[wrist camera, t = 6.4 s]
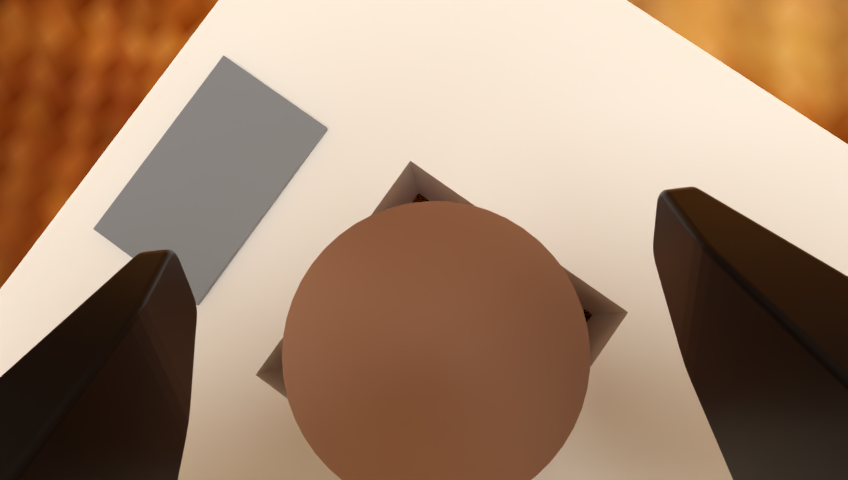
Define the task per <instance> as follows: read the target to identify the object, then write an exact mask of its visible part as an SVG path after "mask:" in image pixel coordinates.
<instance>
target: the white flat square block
mask: <svg viewBox="0 0 848 480" xmlns="http://www.w3.org/2000/svg"><path fill="white" fill-rule="evenodd" d="M682 187H696V188H698V189H700V190H702V191H704V192H705V193H707V194H709V195H710V196H712V197H714V198H715V199H717V200H719V201H721V202H722V203H724V204H726V205H727V206H729V207H731V208H732V209H734V210H736V211H738V212H739V213H741V214H743V215H744V216H746V217H748V218H750V219H751V220H753V221H755V222H756V223H758V224H760V225H761V226H763V227H765V228H767V229H768V230H770V231H772V232H773V233H775V234H777V235H778V236H780V237H782V238H784V239H785V240H787V241H789V242H790V243H792V244H794V245H795V246H797V247H799V248H801V249H802V250H804V251H806V252H807V253H809V254H811V255H812V256H814V257H816V258H818V259H819V260H821V261H823V262H824V263H826V264H828V265H829V266H831V267H833V268H835V269H836V270H838V271H840V272H841V273H843V274H845V275H846V276H848V144H846V143H845V142H843V141H842V140H840V139H839V138H837V137H836V136H834V135H832V134H831V133H829V132H828V131H826V130H825V129H823V128H822V127H820V126H819V125H817V124H816V123H814V122H812V121H811V120H809V119H808V118H806V117H805V116H803V115H802V114H800V113H799V112H797V111H796V110H794V109H793V108H791V107H789V106H788V105H786V104H785V103H783V102H782V101H780V100H779V99H777V98H776V97H774V96H773V95H771V94H769V93H768V92H766V91H765V90H763V89H762V88H760V87H759V86H757V85H756V84H754V83H753V82H751V81H750V80H748V79H746V78H745V77H743V76H742V75H740V74H739V73H737V72H736V71H734V70H733V69H731V68H730V67H728V66H727V65H725V64H723V63H722V62H720V61H719V60H717V59H716V58H714V57H713V56H711V55H710V54H708V53H707V52H705V51H703V50H702V49H700V48H699V47H697V46H696V45H694V44H693V43H691V42H690V41H688V40H687V39H685V38H684V37H682V36H680V35H679V34H677V33H676V32H674V31H673V30H671V29H670V28H668V27H667V26H665V25H664V24H662V23H660V22H659V21H657V20H656V19H654V18H653V17H651V16H650V15H648V14H647V13H645V12H644V11H642V10H641V9H639V8H637V7H636V6H634V5H633V4H631V3H630V2H628V1H627V0H219V1H218V2H217V3H216V5H215V6H214V7H213V9H212V10H211V11H210V13H209V14H208V15H207V17H206V18H205V19H204V21H203V22H202V23H201V24H200V26H199V27H198V28H197V30H196V31H195V32H194V34H193V35H192V36H191V38H190V39H189V40H188V42H187V43H186V44H185V46H184V47H183V48H182V50H181V51H180V52H179V54H178V55H177V56H176V58H175V59H174V60H173V62H172V63H171V64H170V65H169V67H168V68H167V69H166V71H165V72H164V73H163V75H162V76H161V77H160V79H159V80H158V81H157V83H156V84H155V85H154V87H153V88H152V89H151V91H150V92H149V93H148V95H147V96H146V97H145V99H144V100H143V101H142V103H141V104H140V105H139V107H138V108H137V109H136V110H135V112H134V113H133V114H132V116H131V117H130V118H129V120H128V121H127V122H126V124H125V125H124V126H123V128H122V129H121V130H120V132H119V133H118V134H117V136H116V137H115V138H114V140H113V141H112V142H111V144H110V145H109V146H108V148H107V149H106V150H105V151H104V153H103V154H102V155H101V157H100V158H99V159H98V161H97V162H96V163H95V165H94V166H93V167H92V169H91V170H90V171H89V173H88V174H87V175H86V177H85V178H84V179H83V181H82V182H81V183H80V185H79V186H78V187H77V189H76V190H75V191H74V192H73V194H72V195H71V196H70V198H69V199H68V200H67V202H66V203H65V204H64V206H63V207H62V208H61V210H60V211H59V212H58V214H57V215H56V216H55V218H54V219H53V220H52V222H51V223H50V224H49V226H48V227H47V228H46V230H45V231H44V232H43V233H42V235H41V236H40V237H39V239H38V240H37V241H36V243H35V244H34V245H33V247H32V248H31V249H30V251H29V252H28V253H27V255H26V256H25V257H24V259H23V260H22V261H21V263H20V264H19V265H18V267H17V268H16V269H15V271H14V272H13V273H12V274H11V276H10V277H9V278H8V280H7V281H6V282H5V284H4V285H3V286H2V288H1V289H0V377H1V376H2V375H3V374H4V373H5V372H6V371H8V370H9V369H10V368H11V367H12V366H13V365H14V364H15V363H16V362H18V361H19V360H20V359H21V358H22V357H23V356H24V355H25V354H27V353H28V352H29V351H30V350H31V349H32V348H33V347H34V346H35V345H37V344H38V343H39V342H40V341H41V340H42V339H43V338H44V337H45V336H47V335H48V334H49V333H50V332H51V331H52V330H53V329H54V328H55V327H57V326H58V325H59V324H60V323H61V322H62V321H63V320H64V319H66V318H67V317H68V316H69V315H70V314H71V313H72V312H73V311H74V310H76V309H77V308H78V307H79V306H80V305H81V304H82V303H83V302H84V301H86V300H87V299H88V298H89V297H90V296H91V295H92V294H93V293H94V292H96V291H97V290H98V289H99V288H100V287H101V286H102V285H103V284H105V283H106V282H107V281H108V280H109V279H110V278H111V277H112V276H113V275H115V274H116V273H117V272H118V271H119V270H120V269H121V268H122V267H123V266H125V265H126V264H127V263H128V262H129V261H130V260H131V259H132V258H134V257H135V256H136V255H137V254H139V253H141V252H146V251H155V250H163V249H170V250H172V251H174V252H175V253H176V254H177V256H178V257H179V259H180V262H181V264H182V267H183V269H184V272H185V274H186V277H187V280H188V282H189V285H190V287H191V290H192V292H193V295H194V297H195V301H196V307H197V324H196V337H195V351H194V364H193V378H192V392H191V405H190V415H189V424H188V430H187V436H186V441H185V446H184V451H183V456H182V461H181V466H180V471H179V476H178V480H341V479H340V478H339V477H338V476H337V475H336V474H334V473H333V472H332V471H331V470H330V469H329V468H328V467H327V466H326V465H325V464H324V463H323V462H322V461H321V459H320V458H319V457H318V456H317V455H316V454H315V452H314V451H313V450H312V448H311V447H310V445H309V444H308V442H307V441H306V439H305V438H304V436H303V434H302V432H301V430H300V428H299V426H298V424H297V422H296V420H295V418H294V416H293V413H292V410H291V407H290V404H289V401H288V399H287V394H286V389H285V384H284V380H283V368H282V344H283V334H284V329H285V323H286V318H287V315H288V312H289V309H290V306H291V302H292V299H293V297H294V295H295V293H296V291H297V289H298V286H299V284H300V282H301V280H302V279H303V277H304V276H305V274H306V272H307V271H308V269H309V268H310V266H311V264H312V263H313V262H314V261H315V260H316V258H317V257H318V256H319V255H320V254H321V252H322V251H323V250H324V249H325V248H326V247H327V246H328V245H329V244H330V243H331V242H332V241H333V240H335V239H336V238H337V237H338V236H339V235H340V234H342V233H343V232H344V231H346V230H347V229H349V228H350V227H351V226H353V225H354V224H356V223H358V222H360V221H361V220H363V219H365V218H367V217H369V216H371V215H373V214H375V213H378V212H381V211H383V210H386V209H388V208H391V207H395V206H400V205H404V204H408V203H412V202H413V201H414V199H415V198H416V196H417V195H418V194H420V195H422V196H423V197H424V198H426V199H427V200H429V201H450V202H456V203H462V204H469V205H472V206H476V207H479V208H483V209H486V210H489V211H491V212H494V213H496V214H498V215H500V216H503V217H505V218H507V219H509V220H510V221H512V222H514V223H515V224H517V225H519V226H520V227H522V228H524V229H525V230H526V231H527V232H529V233H530V234H531V235H532V236H534V237H535V238H536V239H537V240H539V241H540V242H541V243H542V244H543V245H544V246H545V247H546V249H547V250H548V251H549V252H550V253H551V254H552V255H553V256H554V257H555V259H556V260H557V261H558V263H559V264H560V265H561V267H562V268H563V269H564V271H565V272H566V274H567V276H568V277H569V279H570V281H571V283H572V285H573V286H574V288H575V290H576V293H577V295H578V298H579V300H580V303H581V305H582V308H583V309H585V310H586V311H588V312H589V313H590V314H592V316H591V317H590V319H589V320H588V322H587V327H588V334H589V342H590V373H589V380H588V388H587V392H586V396H585V399H584V403H583V407H582V410H581V412H580V414H579V417H578V419H577V422H576V424H575V426H574V428H573V430H572V432H571V434H570V435H569V437H568V439H567V440H566V442H565V444H564V445H563V447H562V448H561V449H560V451H559V452H558V453H557V454H556V456H555V457H554V458H553V459H552V461H551V462H550V463H549V464H548V465H547V466H546V467H545V468H544V469H543V470H542V471H541V472H540V473H539V474H538V475H537V476H536V477H534V478H533V479H531V480H733V479H732V476H731V474H730V472H729V469H728V467H727V465H726V462H725V460H724V458H723V455H722V453H721V451H720V448H719V446H718V444H717V441H716V439H715V437H714V434H713V432H712V430H711V427H710V425H709V423H708V420H707V418H706V415H705V413H704V411H703V408H702V406H701V404H700V401H699V399H698V397H697V394H696V392H695V390H694V387H693V385H692V383H691V380H690V378H689V375H688V373H687V370H686V367H685V365H684V361H683V358H682V355H681V352H680V349H679V345H678V342H677V338H676V335H675V331H674V327H673V324H672V320H671V317H670V313H669V310H668V306H667V303H666V299H665V296H664V292H663V289H662V285H661V282H660V278H659V275H658V271H657V268H656V264H655V260H654V254H653V237H654V227H655V217H656V207H657V199H658V196H659V194H660V193H661V192H662V191H663V190H666V189H674V188H682Z"/></svg>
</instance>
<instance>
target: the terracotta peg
mask: <svg viewBox="0 0 848 480" xmlns="http://www.w3.org/2000/svg"><path fill="white" fill-rule="evenodd" d="M282 368H283V380H284V384H285V389H286V394H287V399H288V401H289V404H290V407H291V410H292V413H293V416H294V418H295V420H296V422H297V424H298V426H299V428H300V430H301V432H302V434H303V436H304V438H305V439H306V441H307V442H308V444H309V445H310V447H311V448H312V450H313V451H314V452H315V454H316V455H317V456H318V457H319V458H320V459H321V461H322V462H323V463H324V464H325V465H326V466H327V467H328V468H329V469H330V470H331V471H332V472H333V473H334V474H336V475H337V476H338V477H339V478H340V479H341V480H531V479H533V478H534V477H536V476H537V475H538V474H539V473H540V472H541V471H542V470H543V469H544V468H545V467H546V466H547V465H548V464H549V463H550V462H551V461H552V459H553V458H554V457H555V456H556V454H557V453H558V452H559V451H560V449H561V448H562V447H563V445H564V444H565V442H566V440H567V439H568V437H569V435H570V434H571V432H572V430H573V428H574V426H575V424H576V422H577V419H578V417H579V414H580V412H581V410H582V407H583V403H584V399H585V396H586V392H587V388H588V380H589V373H590V342H589V334H588V327H587V323H586V319H585V315H584V311H583V308H582V305H581V303H580V300H579V298H578V295H577V293H576V290H575V288H574V286H573V285H572V283H571V281H570V279H569V277H568V276H567V274H566V272H565V271H564V269H563V268H562V267H561V265H560V264H559V263H558V261H557V260H556V259H555V257H554V256H553V255H552V254H551V253H550V252H549V251H548V250H547V249H546V247H545V246H544V245H543V244H542V243H541V242H540V241H539V240H537V239H536V238H535V237H534V236H532V235H531V234H530V233H529V232H527V231H526V230H525V229H524V228H522V227H520V226H519V225H517V224H515V223H514V222H512V221H510V220H509V219H507V218H505V217H503V216H500V215H498V214H496V213H494V212H491V211H489V210H486V209H483V208H479V207H476V206H472V205H469V204H462V203H456V202H450V201H425V202H415V203H408V204H404V205H400V206H395V207H391V208H388V209H386V210H383V211H381V212H378V213H375V214H373V215H371V216H369V217H367V218H365V219H363V220H361V221H360V222H358V223H356V224H354V225H353V226H351V227H350V228H349V229H347V230H346V231H344V232H343V233H342V234H340V235H339V236H338V237H337V238H336V239H335V240H333V241H332V242H331V243H330V244H329V245H328V246H327V247H326V248H325V249H324V250H323V251H322V252H321V254H320V255H319V256H318V257H317V258H316V260H315V261H314V262H313V263H312V264H311V266H310V268H309V269H308V271H307V272H306V274H305V276H304V277H303V279H302V280H301V282H300V284H299V286H298V289H297V291H296V293H295V295H294V297H293V299H292V302H291V306H290V309H289V312H288V315H287V318H286V323H285V329H284V334H283V344H282Z"/></svg>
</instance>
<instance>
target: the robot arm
mask: <svg viewBox="0 0 848 480" xmlns="http://www.w3.org/2000/svg"><path fill="white" fill-rule="evenodd" d="M653 254H654V260H655V264H656V268H657V271H658V275H659V278H660V282H661V285H662V289H663V292H664V296H665V299H666V303H667V306H668V310H669V313H670V317H671V320H672V324H673V327H674V331H675V335H676V338H677V342H678V345H679V349H680V352H681V355H682V358H683V361H684V365H685V367H686V370H687V373H688V375H689V378H690V380H691V383H692V385H693V387H694V390H695V392H696V394H697V397H698V399H699V401H700V404H701V406H702V408H703V411H704V413H705V415H706V418H707V420H708V423H709V425H710V427H711V430H712V432H713V434H714V437H715V439H716V441H717V444H718V446H719V448H720V451H721V453H722V455H723V458H724V460H725V462H726V465H727V467H728V469H729V472H730V474H731V476H732V479H733V480H848V276H846V275H845V274H843V273H841V272H840V271H838V270H836V269H835V268H833V267H831V266H829V265H828V264H826V263H824V262H823V261H821V260H819V259H818V258H816V257H814V256H812V255H811V254H809V253H807V252H806V251H804V250H802V249H801V248H799V247H797V246H795V245H794V244H792V243H790V242H789V241H787V240H785V239H784V238H782V237H780V236H778V235H777V234H775V233H773V232H772V231H770V230H768V229H767V228H765V227H763V226H761V225H760V224H758V223H756V222H755V221H753V220H751V219H750V218H748V217H746V216H744V215H743V214H741V213H739V212H738V211H736V210H734V209H732V208H731V207H729V206H727V205H726V204H724V203H722V202H721V201H719V200H717V199H715V198H714V197H712V196H710V195H709V194H707V193H705V192H704V191H702V190H700V189H698V188H696V187H682V188H674V189H666V190H663V191H662V192H661V193H660V194H659V196H658V199H657V207H656V217H655V227H654V237H653ZM196 324H197V307H196V301H195V297H194V295H193V292H192V290H191V287H190V285H189V282H188V280H187V277H186V274H185V272H184V269H183V267H182V264H181V262H180V259H179V257H178V256H177V254H176V253H175V252H174V251H172V250H170V249H163V250H155V251H146V252H141V253H139V254H137V255H136V256H135V257H134V258H132V259H131V260H130V261H129V262H128V263H127V264H126V265H125V266H123V267H122V268H121V269H120V270H119V271H118V272H117V273H116V274H115V275H113V276H112V277H111V278H110V279H109V280H108V281H107V282H106V283H105V284H103V285H102V286H101V287H100V288H99V289H98V290H97V291H96V292H94V293H93V294H92V295H91V296H90V297H89V298H88V299H87V300H86V301H84V302H83V303H82V304H81V305H80V306H79V307H78V308H77V309H76V310H74V311H73V312H72V313H71V314H70V315H69V316H68V317H67V318H66V319H64V320H63V321H62V322H61V323H60V324H59V325H58V326H57V327H55V328H54V329H53V330H52V331H51V332H50V333H49V334H48V335H47V336H45V337H44V338H43V339H42V340H41V341H40V342H39V343H38V344H37V345H35V346H34V347H33V348H32V349H31V350H30V351H29V352H28V353H27V354H25V355H24V356H23V357H22V358H21V359H20V360H19V361H18V362H16V363H15V364H14V365H13V366H12V367H11V368H10V369H9V370H8V371H6V372H5V373H4V374H3V375H2V376H1V377H0V480H178V476H179V471H180V466H181V461H182V456H183V451H184V446H185V441H186V436H187V430H188V424H189V415H190V405H191V392H192V378H193V364H194V351H195V337H196Z"/></svg>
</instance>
